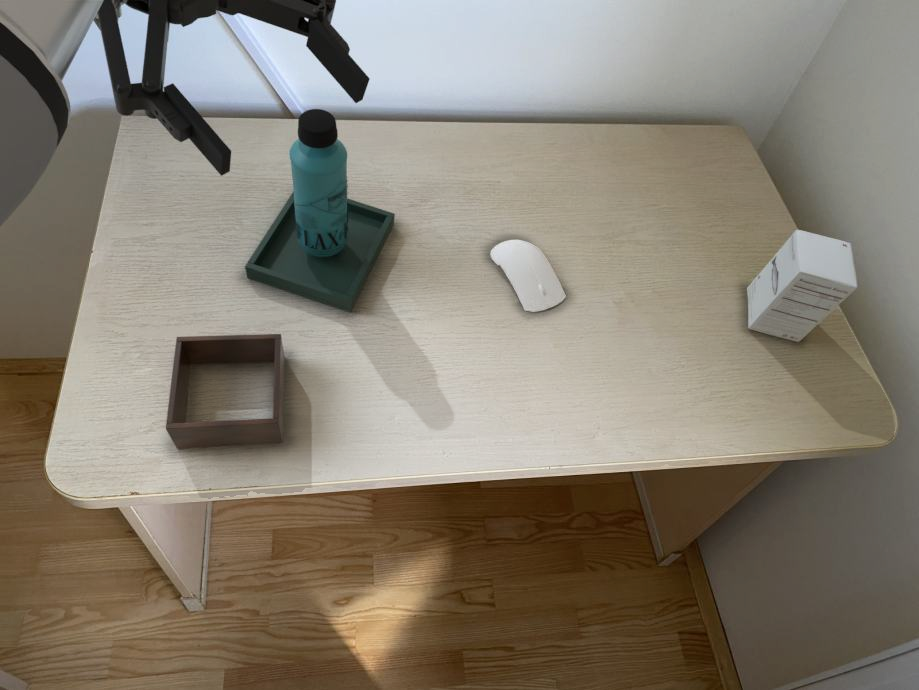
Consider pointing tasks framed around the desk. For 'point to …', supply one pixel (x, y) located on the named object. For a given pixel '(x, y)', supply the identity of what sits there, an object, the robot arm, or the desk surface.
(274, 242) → the tray
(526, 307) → the computer mouse
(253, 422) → the crate
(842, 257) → the white packaging box
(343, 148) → the beverage bottle
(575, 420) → the desk surface
